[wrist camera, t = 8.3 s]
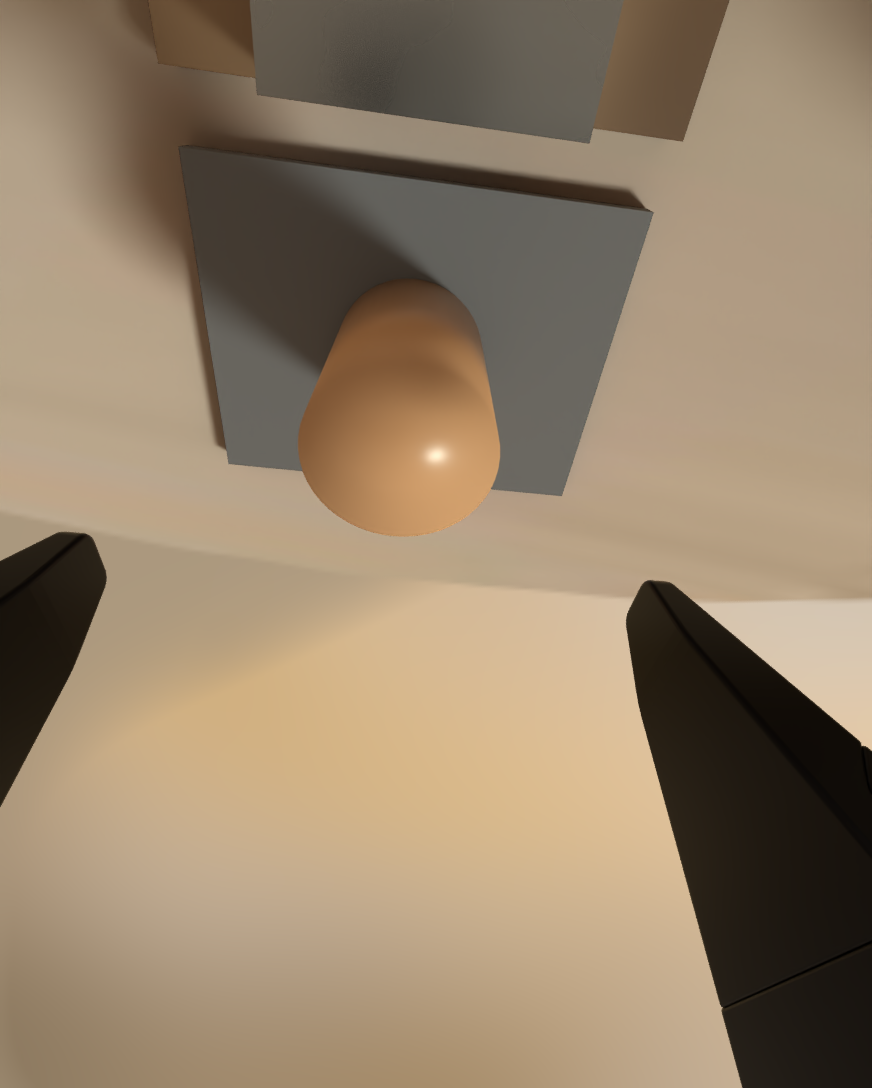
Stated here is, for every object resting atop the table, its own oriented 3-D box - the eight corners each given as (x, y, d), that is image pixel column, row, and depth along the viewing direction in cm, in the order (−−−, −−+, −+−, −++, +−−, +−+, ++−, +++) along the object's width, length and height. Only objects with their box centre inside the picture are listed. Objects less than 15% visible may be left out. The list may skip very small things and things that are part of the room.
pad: (646, 208, 14) (653, 212, 14) (558, 486, 20) (561, 496, 20) (187, 145, 13) (178, 147, 13) (233, 455, 19) (228, 463, 19)
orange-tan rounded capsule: (494, 288, 15) (519, 372, 10) (470, 428, 18) (481, 544, 13) (337, 269, 15) (291, 346, 10) (337, 414, 17) (302, 527, 13)
